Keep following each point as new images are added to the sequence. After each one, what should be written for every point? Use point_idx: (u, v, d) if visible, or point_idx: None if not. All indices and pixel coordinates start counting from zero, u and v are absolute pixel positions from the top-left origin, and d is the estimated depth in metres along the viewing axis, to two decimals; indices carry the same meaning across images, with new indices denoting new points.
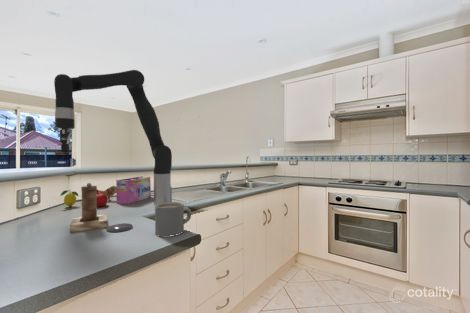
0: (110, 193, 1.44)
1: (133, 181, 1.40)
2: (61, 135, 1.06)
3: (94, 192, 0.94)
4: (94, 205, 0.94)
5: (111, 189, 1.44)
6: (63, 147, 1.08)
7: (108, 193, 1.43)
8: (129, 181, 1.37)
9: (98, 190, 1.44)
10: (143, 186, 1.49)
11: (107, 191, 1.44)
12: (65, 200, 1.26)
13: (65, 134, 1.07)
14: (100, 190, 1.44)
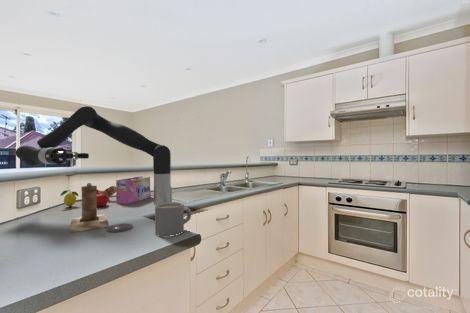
0: (109, 193, 1.44)
1: (133, 181, 1.40)
2: (49, 157, 0.99)
3: (94, 192, 0.94)
4: (94, 205, 0.94)
5: (110, 189, 1.44)
6: (62, 156, 0.98)
7: (107, 193, 1.43)
8: (129, 181, 1.37)
9: None
10: (143, 186, 1.49)
11: (106, 191, 1.44)
12: (65, 200, 1.26)
13: (48, 154, 0.99)
14: (99, 190, 1.44)
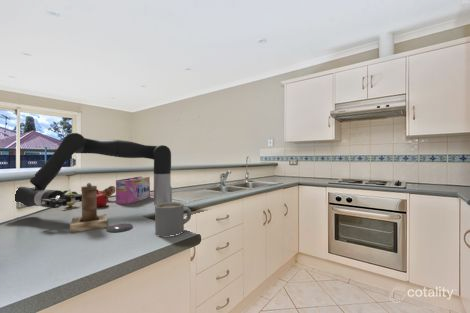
0: (108, 193, 1.44)
1: (132, 181, 1.40)
2: (45, 204, 0.94)
3: (94, 192, 0.94)
4: (94, 205, 0.94)
5: (109, 189, 1.44)
6: (59, 203, 0.93)
7: (106, 193, 1.43)
8: (129, 181, 1.37)
9: None
10: (142, 186, 1.49)
11: (105, 191, 1.44)
12: None
13: (45, 201, 0.94)
14: (98, 190, 1.44)
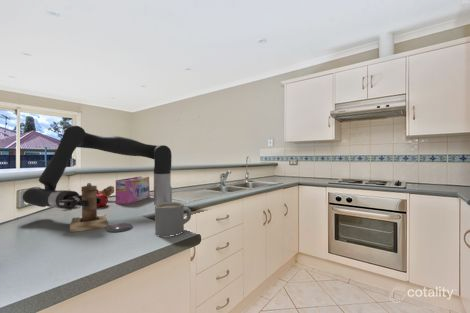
0: (107, 193, 1.44)
1: (132, 181, 1.40)
2: (65, 205, 0.91)
3: (94, 192, 0.94)
4: (94, 205, 0.94)
5: (108, 189, 1.44)
6: (80, 204, 0.91)
7: (105, 193, 1.43)
8: (128, 181, 1.37)
9: None
10: (142, 186, 1.49)
11: (104, 191, 1.44)
12: None
13: (64, 202, 0.91)
14: None
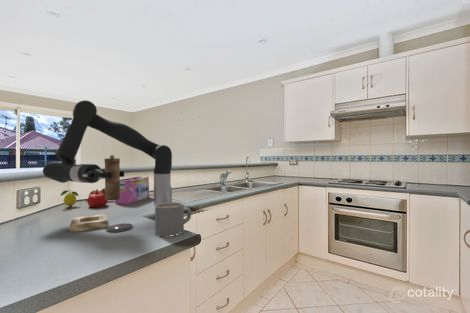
0: None
1: (132, 181, 1.40)
2: (88, 177, 0.87)
3: (118, 164, 0.91)
4: (117, 178, 0.91)
5: None
6: (104, 175, 0.88)
7: (104, 193, 1.43)
8: (128, 181, 1.36)
9: (93, 190, 1.43)
10: (142, 186, 1.49)
11: (103, 191, 1.43)
12: (65, 200, 1.26)
13: (87, 173, 0.88)
14: (95, 190, 1.43)
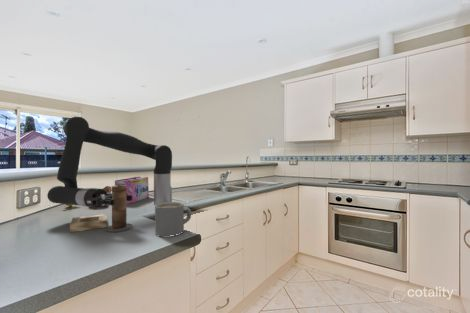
0: None
1: (131, 181, 1.40)
2: (91, 204, 0.86)
3: (125, 192, 0.91)
4: (124, 205, 0.90)
5: (105, 189, 1.44)
6: (106, 203, 0.86)
7: None
8: (128, 181, 1.36)
9: None
10: (141, 186, 1.49)
11: None
12: None
13: (90, 200, 0.86)
14: None
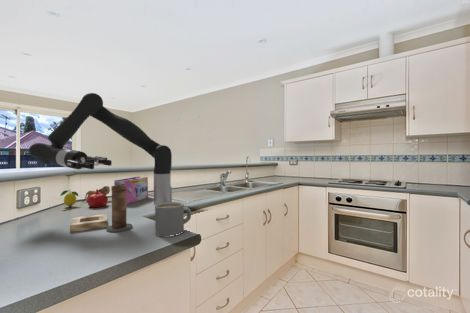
0: (103, 193, 1.43)
1: (131, 181, 1.39)
2: (71, 166, 0.91)
3: (124, 192, 0.90)
4: (124, 205, 0.90)
5: (104, 189, 1.44)
6: (86, 166, 0.91)
7: None
8: (127, 181, 1.36)
9: None
10: (141, 186, 1.48)
11: (100, 191, 1.43)
12: (65, 200, 1.26)
13: (70, 162, 0.91)
14: None
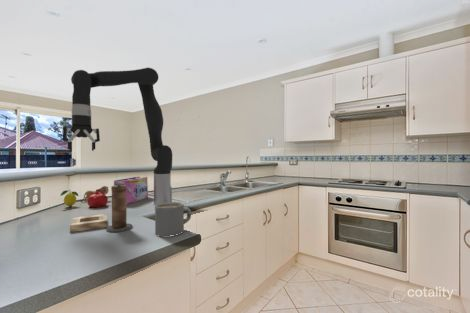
0: None
1: (131, 181, 1.39)
2: None
3: (124, 192, 0.90)
4: (124, 205, 0.90)
5: (102, 189, 1.44)
6: None
7: None
8: (127, 181, 1.36)
9: None
10: (140, 186, 1.48)
11: (98, 191, 1.43)
12: (65, 200, 1.26)
13: None
14: None
